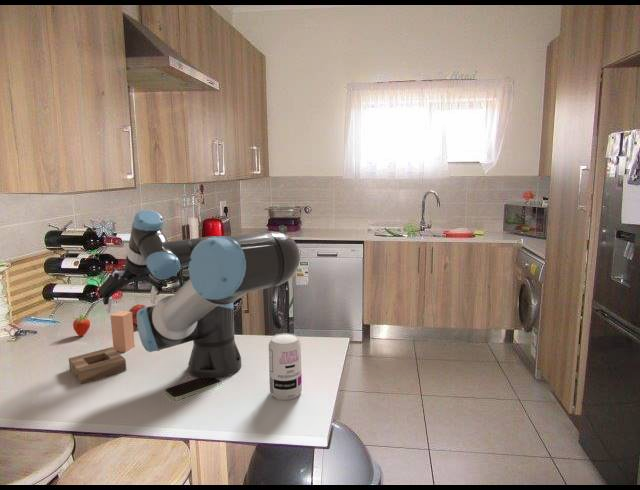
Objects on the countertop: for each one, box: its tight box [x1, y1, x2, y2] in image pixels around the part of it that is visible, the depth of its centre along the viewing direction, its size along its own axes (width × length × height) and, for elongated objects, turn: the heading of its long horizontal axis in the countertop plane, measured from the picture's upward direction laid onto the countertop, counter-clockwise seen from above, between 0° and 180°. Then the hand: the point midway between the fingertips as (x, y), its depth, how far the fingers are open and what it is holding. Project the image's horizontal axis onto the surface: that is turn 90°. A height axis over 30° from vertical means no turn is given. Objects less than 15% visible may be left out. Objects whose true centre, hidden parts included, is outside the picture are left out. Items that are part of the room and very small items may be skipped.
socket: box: [68, 346, 127, 385], centre depth 127 cm, size 12×12×4 cm
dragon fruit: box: [128, 304, 147, 327], centre depth 164 cm, size 8×8×12 cm
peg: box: [110, 310, 136, 353], centre depth 141 cm, size 4×4×12 cm
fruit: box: [72, 313, 91, 337], centre depth 153 cm, size 5×5×8 cm
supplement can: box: [268, 332, 303, 401], centre depth 112 cm, size 8×8×15 cm
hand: (130, 305), depth 138 cm, fingers open, 13 cm apart
